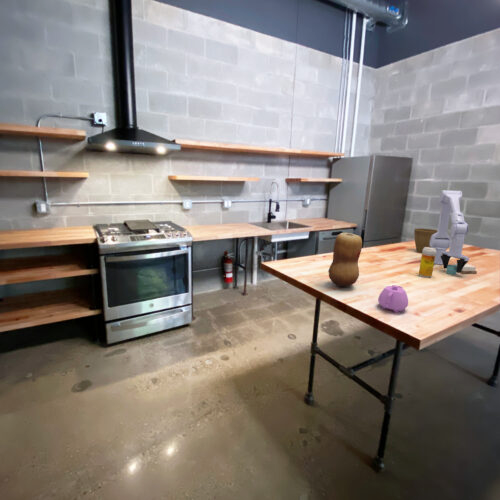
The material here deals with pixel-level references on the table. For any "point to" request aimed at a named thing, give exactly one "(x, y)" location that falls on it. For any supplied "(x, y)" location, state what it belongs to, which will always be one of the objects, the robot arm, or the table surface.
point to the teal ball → (451, 269)
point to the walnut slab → (468, 272)
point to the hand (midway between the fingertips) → (451, 270)
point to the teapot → (393, 298)
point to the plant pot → (423, 238)
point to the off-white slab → (467, 267)
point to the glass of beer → (427, 262)
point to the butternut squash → (345, 259)
